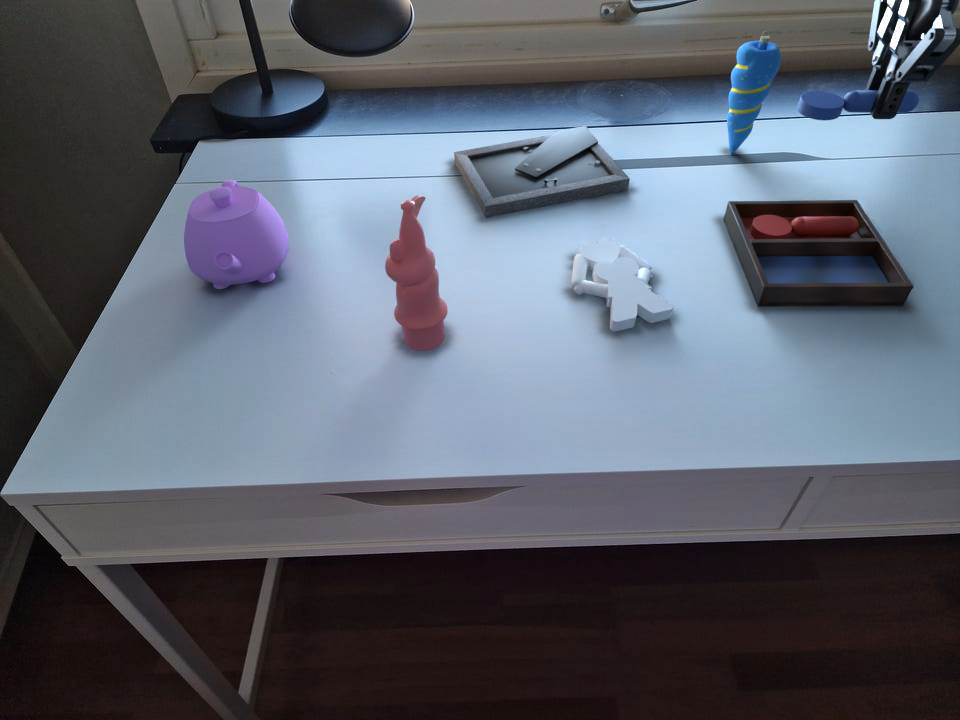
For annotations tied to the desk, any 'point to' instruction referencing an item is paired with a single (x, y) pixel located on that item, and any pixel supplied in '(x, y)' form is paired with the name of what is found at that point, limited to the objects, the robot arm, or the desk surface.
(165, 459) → the desk surface
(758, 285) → the cutlery tray
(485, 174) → the picture frame
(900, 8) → the robot arm
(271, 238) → the teapot
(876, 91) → the blue spoon
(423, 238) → the figurine
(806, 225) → the red spoon
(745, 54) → the ornament
